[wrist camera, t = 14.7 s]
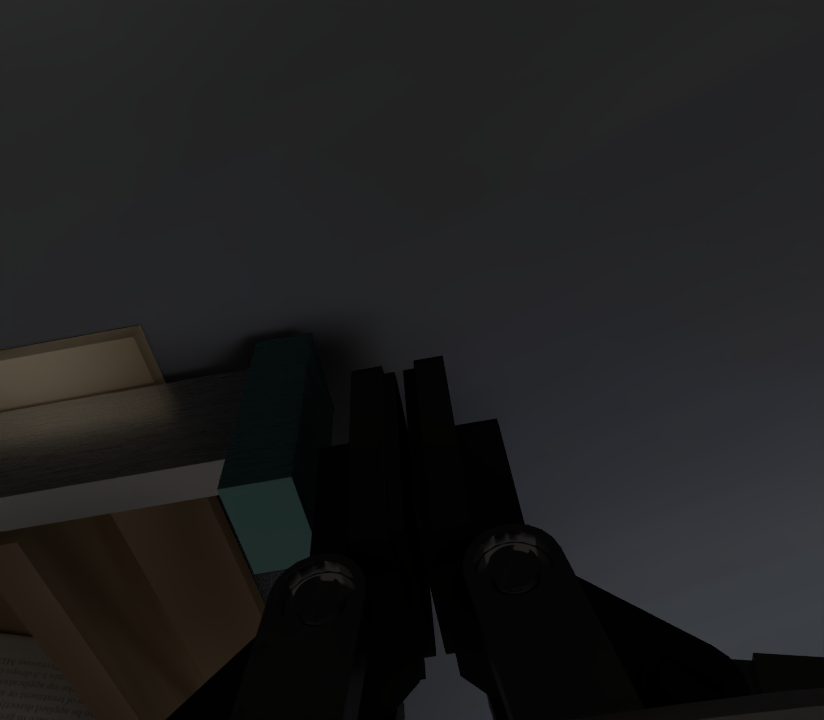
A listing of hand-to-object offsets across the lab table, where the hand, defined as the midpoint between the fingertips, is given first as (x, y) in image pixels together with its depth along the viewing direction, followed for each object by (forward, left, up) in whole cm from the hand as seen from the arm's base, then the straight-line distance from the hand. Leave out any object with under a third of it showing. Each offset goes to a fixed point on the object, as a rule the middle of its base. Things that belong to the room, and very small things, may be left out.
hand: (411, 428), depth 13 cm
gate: (+8, 0, -3) cm, 8 cm away
